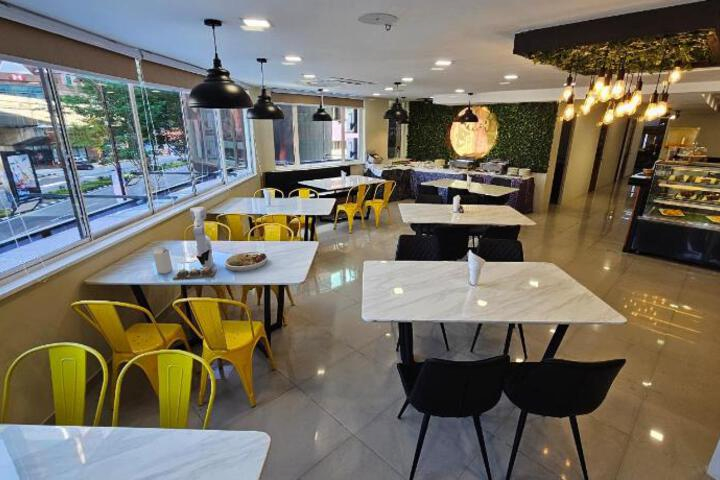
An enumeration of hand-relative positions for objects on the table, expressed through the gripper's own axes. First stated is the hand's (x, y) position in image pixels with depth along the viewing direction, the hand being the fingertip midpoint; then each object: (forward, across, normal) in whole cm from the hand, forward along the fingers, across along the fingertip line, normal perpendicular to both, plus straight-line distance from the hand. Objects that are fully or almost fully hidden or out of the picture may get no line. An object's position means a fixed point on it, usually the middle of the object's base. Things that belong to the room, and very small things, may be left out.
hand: (204, 262), depth 243 cm
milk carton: (+10, -12, -33) cm, 36 cm away
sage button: (+6, 0, -16) cm, 17 cm away
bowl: (+10, -15, +24) cm, 30 cm away
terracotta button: (+6, 0, 0) cm, 6 cm away
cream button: (+6, 0, -8) cm, 10 cm away
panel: (+9, -1, -8) cm, 12 cm away
